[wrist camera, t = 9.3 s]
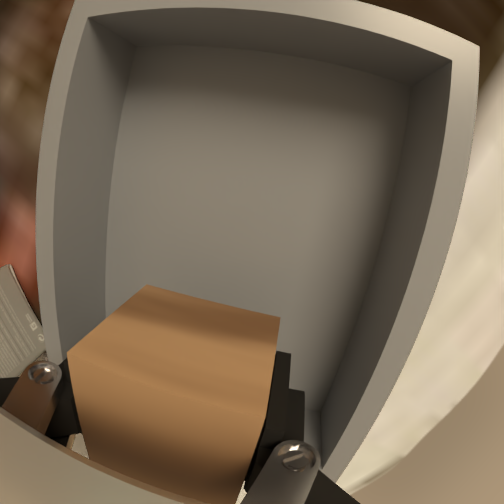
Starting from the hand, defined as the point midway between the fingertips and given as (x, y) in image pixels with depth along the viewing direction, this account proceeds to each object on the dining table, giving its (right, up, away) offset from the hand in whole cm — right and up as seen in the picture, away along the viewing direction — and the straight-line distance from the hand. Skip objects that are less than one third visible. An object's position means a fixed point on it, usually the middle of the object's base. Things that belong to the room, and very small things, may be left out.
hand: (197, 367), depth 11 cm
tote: (+1, +5, +3) cm, 6 cm away
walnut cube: (0, 0, +1) cm, 1 cm away
